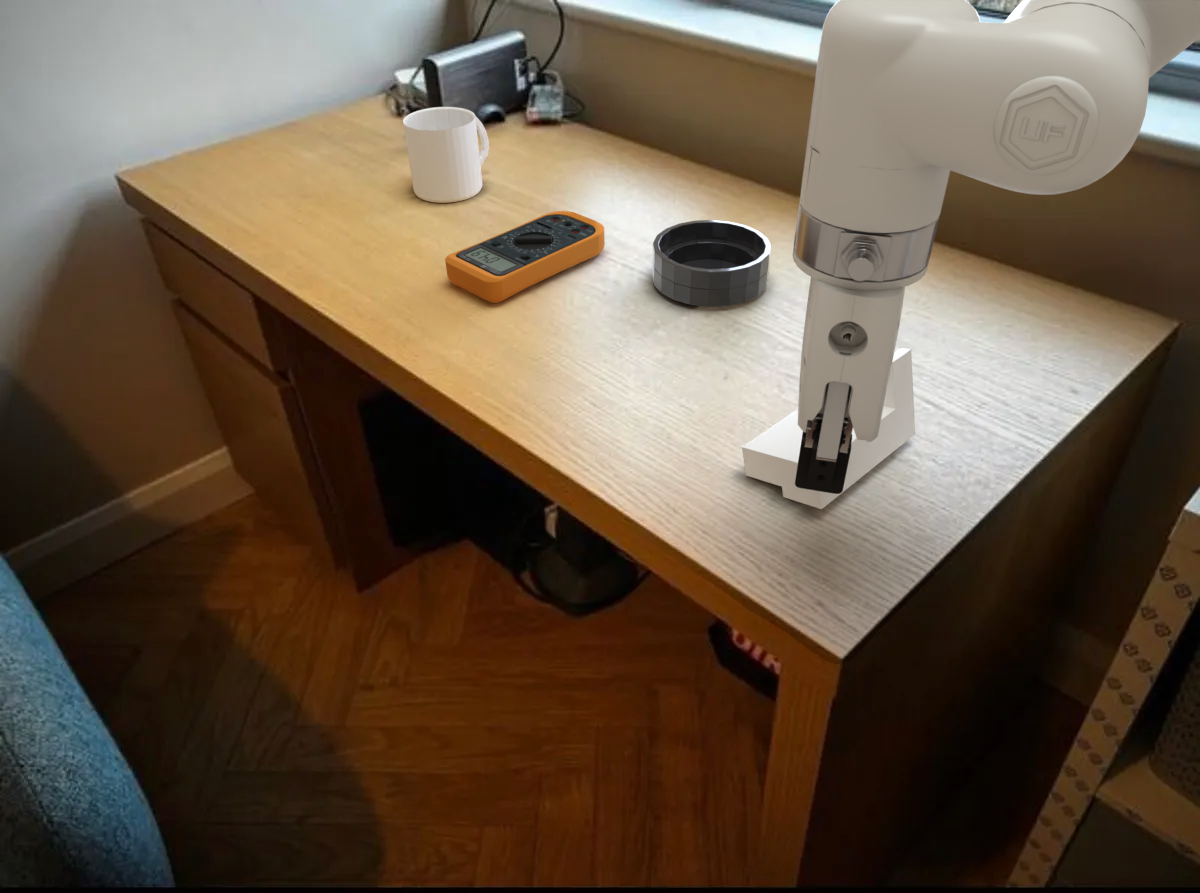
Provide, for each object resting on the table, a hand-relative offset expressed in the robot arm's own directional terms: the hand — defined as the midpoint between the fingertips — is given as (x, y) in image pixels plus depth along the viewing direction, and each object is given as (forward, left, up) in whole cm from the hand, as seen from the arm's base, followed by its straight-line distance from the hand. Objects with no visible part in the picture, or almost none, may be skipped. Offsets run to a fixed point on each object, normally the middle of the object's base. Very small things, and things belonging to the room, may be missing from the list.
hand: (818, 483), depth 62 cm
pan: (+14, -38, -6) cm, 41 cm away
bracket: (0, -11, -6) cm, 12 cm away
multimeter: (+34, -37, -6) cm, 50 cm away
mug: (+51, -57, -6) cm, 76 cm away
